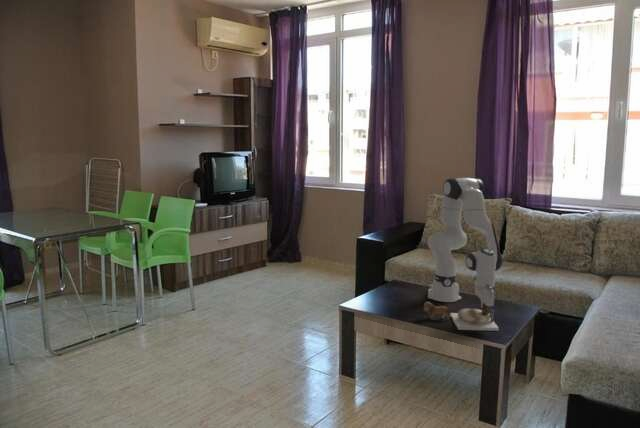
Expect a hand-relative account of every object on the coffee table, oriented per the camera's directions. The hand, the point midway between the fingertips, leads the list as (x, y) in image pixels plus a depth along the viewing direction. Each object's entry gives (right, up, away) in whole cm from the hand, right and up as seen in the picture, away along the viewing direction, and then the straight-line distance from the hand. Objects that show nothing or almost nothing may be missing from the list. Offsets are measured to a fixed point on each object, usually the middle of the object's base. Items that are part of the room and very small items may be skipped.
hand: (483, 308), depth 256 cm
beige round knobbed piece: (-4, -4, -2) cm, 6 cm away
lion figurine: (-23, -6, +3) cm, 24 cm away
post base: (-5, -7, -2) cm, 9 cm away
